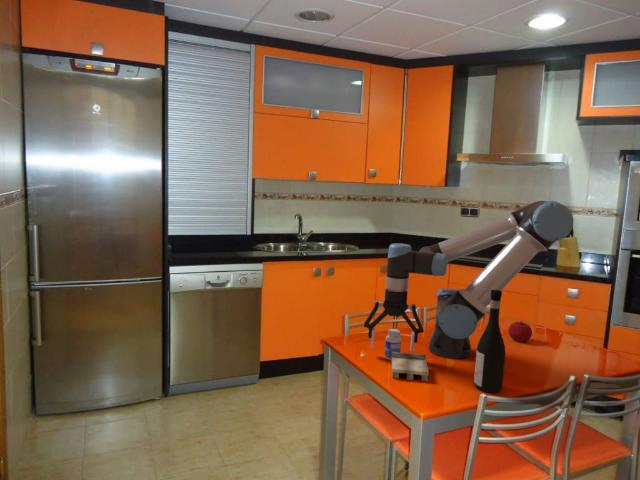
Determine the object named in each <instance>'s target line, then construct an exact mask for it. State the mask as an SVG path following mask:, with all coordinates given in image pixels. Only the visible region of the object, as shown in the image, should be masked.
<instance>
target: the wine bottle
mask: <svg viewBox="0 0 640 480" xmlns="http://www.w3.org/2000/svg"><path fill="white" fill-rule="evenodd" d="M502 293H503V291H502V290H501V291H500V290H491V302H490V303H489V304H490V306H489V317H488V322H487V325H486V327H485V329H484V331H483V333H482V335H481V337H480V338H479V340H478V343H477V347H476V352H475V353H476V355H475V364H474V365H475V366H474V376H473V385H474V386H475V388H477V389H478V390H479V391H482V392H485V393H490V394H493V393H498V392H500V391H502V389H503V383H504V375H505V374H504V372H505V363H506V346H505V342H504V338H503V334H502V331H501V329H500V321H499V319H500V311H501V309H500V308H501V299H502Z"/></svg>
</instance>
